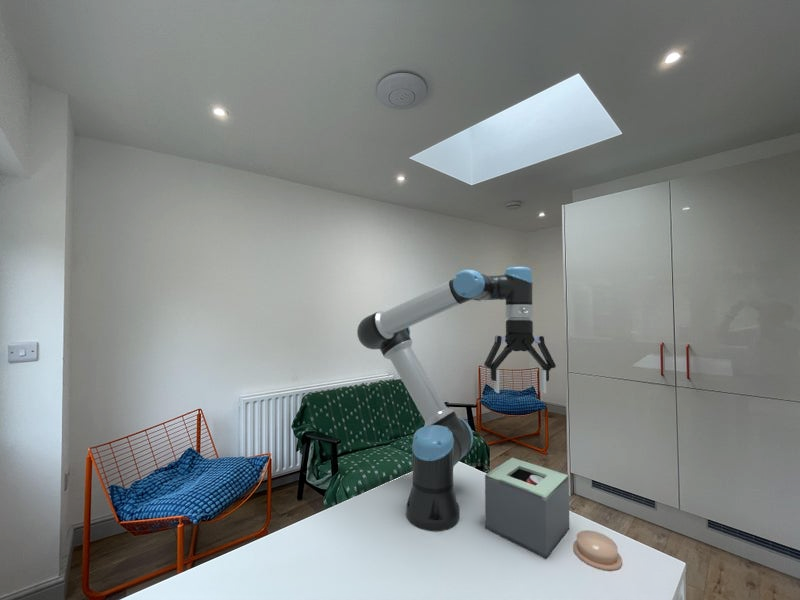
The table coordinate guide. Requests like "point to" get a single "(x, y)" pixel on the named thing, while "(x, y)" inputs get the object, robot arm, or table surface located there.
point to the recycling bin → (527, 506)
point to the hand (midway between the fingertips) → (519, 392)
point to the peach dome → (597, 551)
